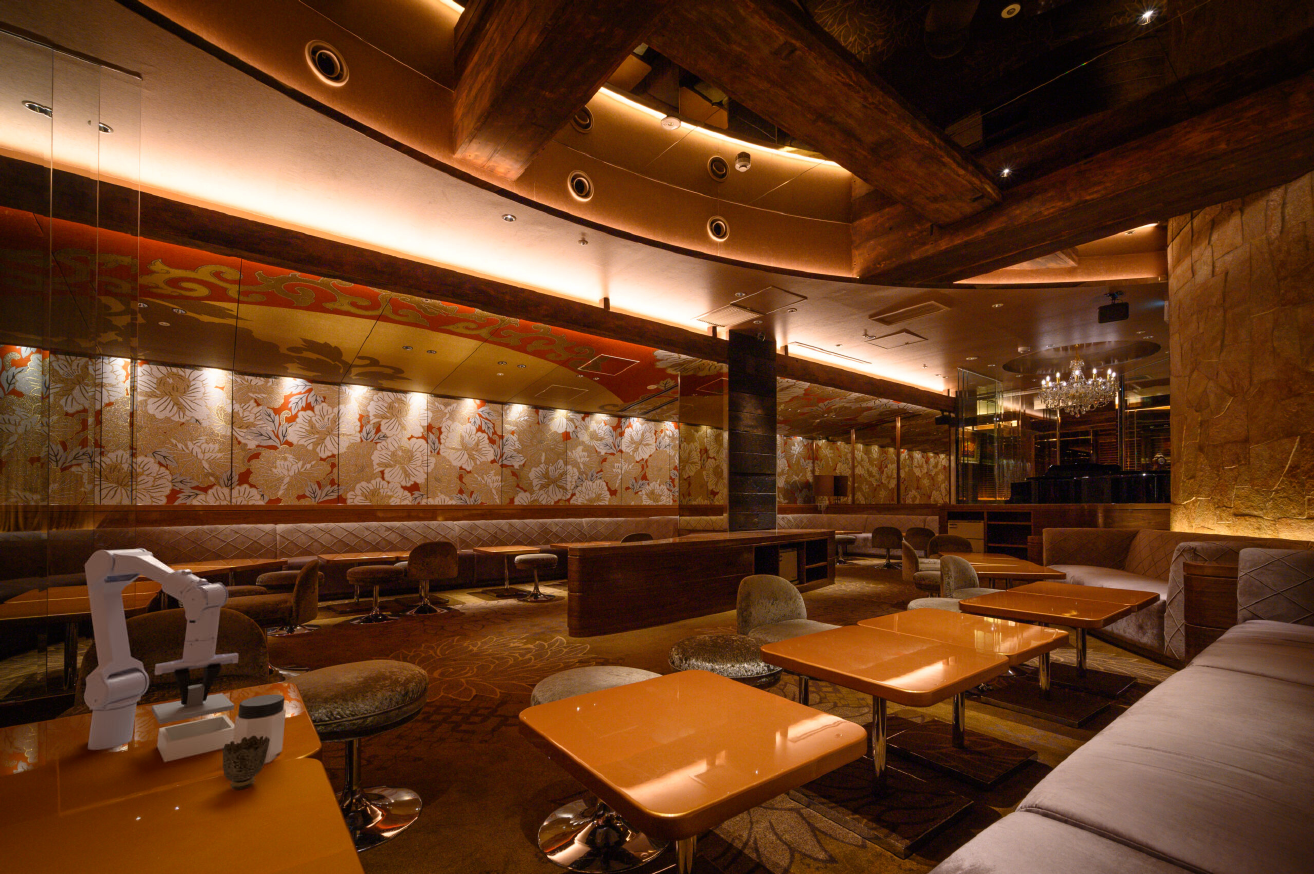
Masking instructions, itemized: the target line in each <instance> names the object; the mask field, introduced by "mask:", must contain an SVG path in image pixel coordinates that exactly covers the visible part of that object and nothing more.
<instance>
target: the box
mask: <svg viewBox="0 0 1314 874" xmlns="http://www.w3.org/2000/svg"><path fill="white" fill-rule="evenodd" d="M234 726H235V723H234V722H233V721H232V720H231V719H230V718H229V716H227V715H226V714H223V715H219V716H214V717H209V718H205V719H204V718H203V719H198V720H195V721H189V722H183V723H178V724H174V725H169V726H165V727H159V728H158V729H159V730H158V736H157V745H156V747H157V750H158V751H159V753H160V755H161V758H162V760H163V763H166V762H170V761H171V762H172V761H174V760H179V759H184V758H188V757H193V756H195V755H196V756H197V755H200V754H204V753H210V752H213V751H218V750H223V749H224V745H225V744H230V742H231V741H233V736H234Z"/></svg>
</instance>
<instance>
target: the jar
mask: <svg viewBox="0 0 1314 874" xmlns="http://www.w3.org/2000/svg"><path fill="white" fill-rule="evenodd" d="M284 706H285V696H284V695H281V694H264V695H258V696H254V697H250V698H247V699H244V700H242V701H241V702H240V703H239V705H238V714H237V715H236V716H235V718H234V719H235V720H234V725H235V726H234V736H233V741H234V743H235V744H236V743H241V740H242V738H243V737H246V738H247V739H249V738H250V737H252V736H254V735H255V736H256V737H257V738H258V739H259V738H260V737H261V736H263V740H264V738H265V737H268V738H269V739H270V742H269V746H268V751H267V755H266V759H265V763H264V765H265V764H269V763H271V762H272V761H273V760H275V759H276V758H278V757H279V756H280V754H279V753H281V752H282V751H283V743H284V734H285V722H286V713H287V711H286V710H287V709H286V708H285V707H284Z"/></svg>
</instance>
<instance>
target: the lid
mask: <svg viewBox="0 0 1314 874" xmlns="http://www.w3.org/2000/svg"><path fill="white" fill-rule="evenodd" d="M204 688H205V686H204V685H203V683H201V684H195V685H194V684H193V685H188V695H187V704H186V705H182V704H181V700H177V701H172V702H164V703H160V704H154V705H151V712H152V714H153V716H154V718H155V719H156V721H157V722H158V724H159V725H162V724H167V723H174V722H178V721H182V720H183V721H184V720H188V719H192V718H193V719H194V718H198V717H203V716H207V715H214V714H217V713H218V714H219V713H224V712H229V711H233V710H235V704H234V703H233V702H232V701H231V700H230V699H229V698H228V697H227V696H226V695H225V694H224V693H223V692H221V693H216V694H210V695H209V694H208V696H207V699H206V701H203V696H204Z"/></svg>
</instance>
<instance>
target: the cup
mask: <svg viewBox="0 0 1314 874" xmlns="http://www.w3.org/2000/svg"><path fill="white" fill-rule="evenodd" d="M269 742H270V739H269V738H268V737H265V738H264V740H263V736H261V737H260V738H259V739H258V738H257V737H256V736H255V735H254V736H252V737H250V738H249V739H247V738H246V737H243V738H242V740H241V743H236V744H235V743H234V741H231V742H230V744H225V745H224V748H222V768H223V769H222V770H223V775H224V776H225V779H226V780H228V781H230V782H231V783H230V786H231V789H232V790H237V791H238V790H239V791H240V790H244V789H247V788H250V787H251V786H252V785H253V783H255V777H256V776H257V775H258V774H260V772H261V771H262V770H263V767H264V765H265V764H266V763H265V759H266V755H267V751H268V746H269ZM264 763H265V764H264Z"/></svg>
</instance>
